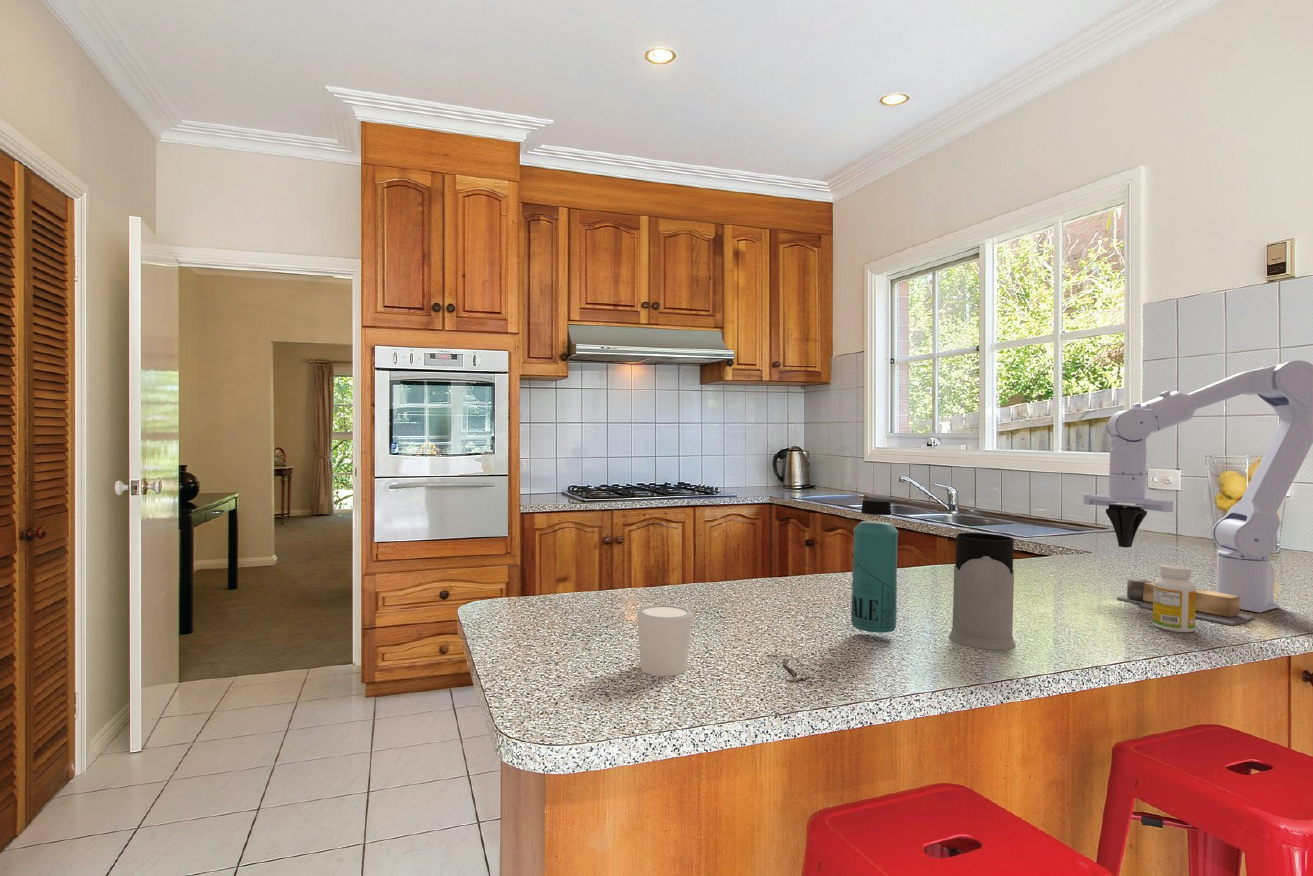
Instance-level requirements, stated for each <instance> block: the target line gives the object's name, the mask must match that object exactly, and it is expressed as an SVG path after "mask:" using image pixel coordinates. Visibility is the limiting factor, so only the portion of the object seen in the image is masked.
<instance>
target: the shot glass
mask: <svg viewBox="0 0 1313 876" xmlns="http://www.w3.org/2000/svg"><path fill="white" fill-rule="evenodd" d="M693 615H694V612H693V611H691V610H690V609H688V608H685V607H680V606H676V605H651V606H646V607H645V606H644V607H642V608H638V610H637V612H636V616H637V617H636V618H637V631H638V633H637V634H638V645H639V649H638V650H639V662H640V670H641V671H642V672H643V673H646V674H647V675H652V676H657V677H658V676H659V677H672V676H679V675H682V674H684V673H686V671H687V667H688V660H689V659H688V658H689V650H690V641H691V631H692V623H693Z"/></svg>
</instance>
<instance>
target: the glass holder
mask: <svg viewBox="0 0 1313 876" xmlns="http://www.w3.org/2000/svg"><path fill="white" fill-rule="evenodd" d="M1014 542H1015V539H1014V538H1013V537H1011V536H1008V535H1007V536H1006V535H1000V534H994V533H982V532H981V533H979V532H960V533H956V539H955V565H954V566H953V567H954V569H953V592H952V593H953V594H952V595H953V597H952V598H953V599H952V627H951V631H950V633H949V635H948V638H949V639H950V641H952V642H954V643H956V644H957V645H961V646H965V647H970V648H974V649H980V650H989V651H1006V650H1012V649H1014V648H1016V642H1015V640H1014V637H1013V629H1014V628H1013V624H1014V623H1013V622H1014V590H1015V584H1014V583H1015V569H1014V546H1015V545H1014Z"/></svg>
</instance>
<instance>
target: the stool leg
mask: <svg viewBox="0 0 1313 876" xmlns="http://www.w3.org/2000/svg"><path fill="white" fill-rule="evenodd" d="M1126 595H1127V597H1129V598H1133V599H1139V600H1144V601H1149V602H1153V596H1154V581H1150V580H1146V579H1141V578H1127V585H1126ZM1195 610H1196V611H1201V612H1206V613H1211V614H1216V615H1222V616H1227V617H1233V616H1237V615H1239V614H1240V610H1241V609H1240V596H1236V595H1230V594H1224V593H1218V592H1216V591H1212V590H1205V589H1199V588H1196V605H1195Z"/></svg>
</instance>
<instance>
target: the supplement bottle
mask: <svg viewBox="0 0 1313 876" xmlns="http://www.w3.org/2000/svg"><path fill="white" fill-rule="evenodd" d="M1158 572H1159V575H1160V576H1161V577H1157V578H1155V579H1154V581H1153V582H1154V596H1153V610H1152V625H1153V626H1154V627H1155V628H1157V627H1158V628H1157V629H1160V628H1161V629H1160V630H1165V631H1168V630H1169V631H1170V632H1175V633H1192V632H1194V631H1195V629H1196V619H1195V605H1196V589H1197V586H1196V584H1195V583H1194V582H1192V581H1190V578H1191V576H1192V568H1191V567H1190V566H1185V565H1178V564H1168V563H1167V564H1160V565H1159V571H1158Z"/></svg>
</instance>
